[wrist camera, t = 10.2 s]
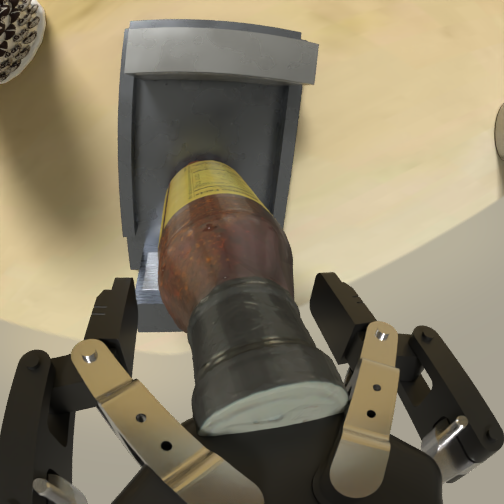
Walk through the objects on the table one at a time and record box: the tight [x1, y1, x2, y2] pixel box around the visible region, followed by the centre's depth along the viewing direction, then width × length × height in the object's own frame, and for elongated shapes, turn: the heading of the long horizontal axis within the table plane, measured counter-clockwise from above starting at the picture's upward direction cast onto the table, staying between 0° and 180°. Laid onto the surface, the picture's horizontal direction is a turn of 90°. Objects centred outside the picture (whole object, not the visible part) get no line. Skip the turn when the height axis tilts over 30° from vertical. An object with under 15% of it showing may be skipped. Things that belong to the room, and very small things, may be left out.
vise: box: [118, 19, 306, 332], centre depth 19 cm, size 13×21×9 cm, turn 174°
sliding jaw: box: [124, 27, 319, 87], centre depth 15 cm, size 10×2×7 cm, turn 84°
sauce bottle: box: [158, 160, 349, 436], centre depth 15 cm, size 6×6×20 cm
